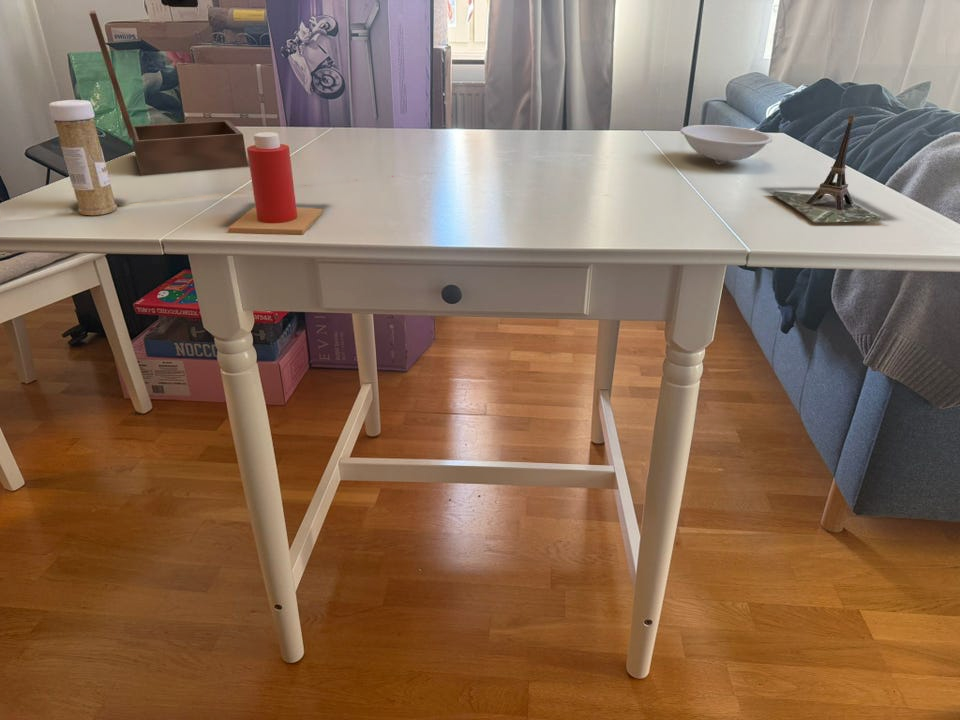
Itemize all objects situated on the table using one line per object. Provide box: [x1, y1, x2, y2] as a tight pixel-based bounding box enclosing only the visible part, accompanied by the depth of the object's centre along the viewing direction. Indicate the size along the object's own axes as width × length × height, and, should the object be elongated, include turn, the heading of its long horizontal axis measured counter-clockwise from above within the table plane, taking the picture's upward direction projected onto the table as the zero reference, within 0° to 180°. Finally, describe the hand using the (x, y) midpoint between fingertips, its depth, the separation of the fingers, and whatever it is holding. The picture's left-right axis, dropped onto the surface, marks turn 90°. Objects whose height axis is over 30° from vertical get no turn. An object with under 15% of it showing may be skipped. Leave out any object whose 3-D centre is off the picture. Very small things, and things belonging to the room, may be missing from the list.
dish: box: [680, 124, 774, 165], centre depth 116 cm, size 18×14×5 cm
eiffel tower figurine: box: [768, 105, 888, 223], centre depth 89 cm, size 15×10×13 cm
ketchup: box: [246, 131, 297, 223], centre depth 81 cm, size 5×5×10 cm
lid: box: [88, 10, 135, 140], centre depth 100 cm, size 16×15×1 cm
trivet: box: [227, 206, 324, 235], centre depth 84 cm, size 9×9×1 cm
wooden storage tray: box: [131, 119, 249, 176], centre depth 109 cm, size 16×15×6 cm
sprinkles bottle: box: [48, 99, 118, 216], centre depth 84 cm, size 5×5×14 cm
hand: (179, 6), depth 79 cm, fingers open, 9 cm apart
